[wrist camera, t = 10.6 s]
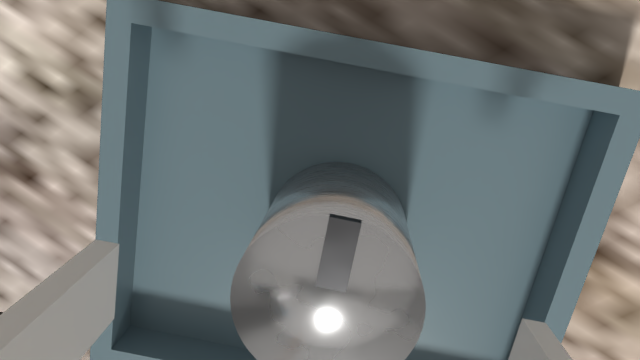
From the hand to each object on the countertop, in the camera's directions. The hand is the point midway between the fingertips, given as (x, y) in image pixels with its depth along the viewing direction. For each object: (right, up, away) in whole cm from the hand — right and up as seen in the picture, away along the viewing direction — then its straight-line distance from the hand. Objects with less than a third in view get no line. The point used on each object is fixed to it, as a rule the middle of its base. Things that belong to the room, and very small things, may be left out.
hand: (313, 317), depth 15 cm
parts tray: (+1, +2, +8) cm, 8 cm away
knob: (+1, +2, +7) cm, 7 cm away
